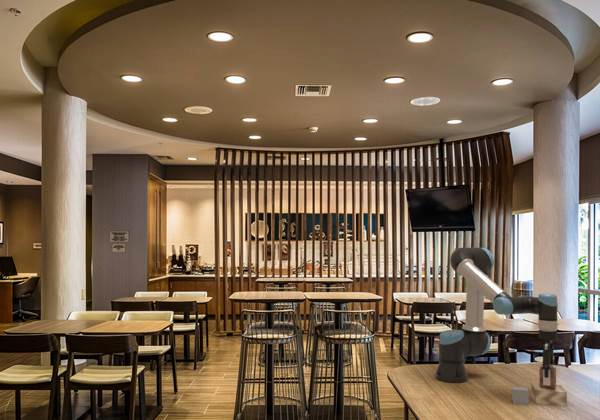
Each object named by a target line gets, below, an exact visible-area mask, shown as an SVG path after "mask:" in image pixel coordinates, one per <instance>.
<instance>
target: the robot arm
mask: <svg viewBox="0 0 600 420" xmlns="http://www.w3.org/2000/svg"><path fill="white" fill-rule="evenodd" d="M449 258H450V259H449V262H450V266H451V268H452V270H453V271H454V272H455V274H457V275H459V276H460V277H463V278H464V279H465V280H466V296H465V297H466V299H465V301H466V302H465V324H464V325H463V326H461V329H447V330H443V331H441V332H440V333H439V340H438V343H439V346H438V347H439V349H438V351H439V356H438V357H439V359H438V360H439V362H438V365H437V369H436V371H435V379H436V380H438V381H441V382H446V383H454V384H455V383H465V382H467V381H468V380H469V379H468V373H467V370H466V367H465V364H464V362H465V359H464V357H471V356H472V357H474V356H475V357H478V356H482V355H485V354H487V353H488V352H489V350H490V348H491V346H492V345H491V342H492V341H491V337H490V335H489V333H487V328H485V326H484V310H485V308H484V307H485V297H486V299H488V300H489V301H490V302H491V303H492V308H493V310H494V312H495V313H496V314H498V315H503V316H509V315H510V316H511V315H524V314H525V315H526V314H531V315H532V314H533V315H537V316H538V317H537V318H538V322H537V323H538V324H537V327H538V328H537V329H539V330H538V339H540V340H544V342H543V343H542V367H541V366H540V367H541V369H543V385H548V386H550V367H552V368H554V365H556V362H555V359H554V357H555V354H554V347H555V346H554V345H555V344H554V342H555V341H557V340H558V338H559V337H558V335H559V333H558V331H557V330H558V326H559V325H560V323H559V322H558V307H559V306H558V297H557V295H556V293H555V294H554V293H548V292H547V293H546V292H545V293H543V292H541V293H539V294H538V295H537V296H529V295H518V296H511V295H509V294H508V293H507V292H506V291H505V290H504V289H503V288H502V287H500V286H499V285H498V284H497V283H496V282H495V281H493V280H492V279H491V278H490V277H489V272H490V271H491V270H492V269H493V268H494V266H495V265H494V264H495V259H494V255H493V253H491V250H489V249H487V248H485V247H459V248H456V249H454V251H453V252H452V253H451V255H450V257H449Z"/></svg>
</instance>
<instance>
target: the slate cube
mask: <svg viewBox="0 0 600 420" xmlns="http://www.w3.org/2000/svg"><path fill="white" fill-rule="evenodd" d="M529 391H530V390H529V389H528V387H527V386H518V385H512V386H511V401H512V404H513V405H523V406H529V405H530V403H529V401H530V400H529V399H530V398H529V396H530V395H529Z"/></svg>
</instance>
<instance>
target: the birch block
mask: <svg viewBox="0 0 600 420" xmlns="http://www.w3.org/2000/svg"><path fill="white" fill-rule="evenodd" d="M530 387H531V389H530V391H531V392H530V393H531V398H532V401H533V402H534V403H535V405H544V406H554V407H555V406H556V407H565V408H567V406H568V401H567V400H568V392H567V390H565V388H564V387H563V386H562V385H561V384H556V389H555V390H551V389H543V388H540V383H534V382H533V383H532V382H531V384H530Z"/></svg>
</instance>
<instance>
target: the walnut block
mask: <svg viewBox="0 0 600 420" xmlns="http://www.w3.org/2000/svg"><path fill="white" fill-rule="evenodd" d="M542 366H543V365H542ZM542 366H540V367H539V372H538V373H539V379H538V380H539V384H540V388H543V389H551V390H555V389H556V385H557V367H553V368H552V367H550V386H548V385H543V369H541V367H542Z"/></svg>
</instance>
